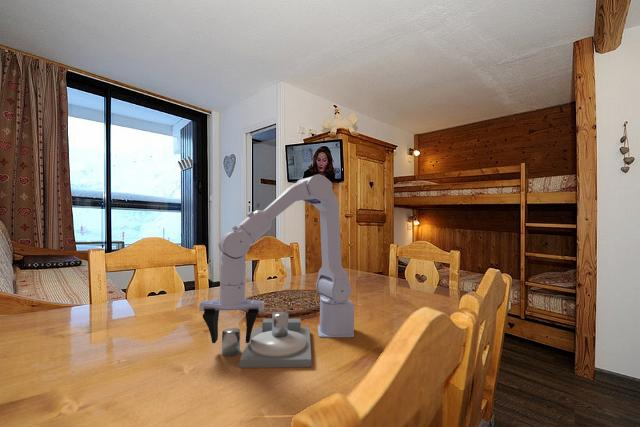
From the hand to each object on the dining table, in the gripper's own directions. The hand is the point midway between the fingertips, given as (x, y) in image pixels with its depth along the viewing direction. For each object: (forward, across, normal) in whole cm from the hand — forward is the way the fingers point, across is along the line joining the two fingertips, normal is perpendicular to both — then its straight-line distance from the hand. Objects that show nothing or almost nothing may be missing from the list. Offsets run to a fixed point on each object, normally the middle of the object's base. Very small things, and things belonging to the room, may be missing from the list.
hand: (231, 341), depth 68 cm
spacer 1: (+2, 0, 0) cm, 3 cm away
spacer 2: (0, -11, -4) cm, 12 cm away
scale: (+2, -11, -2) cm, 11 cm away
